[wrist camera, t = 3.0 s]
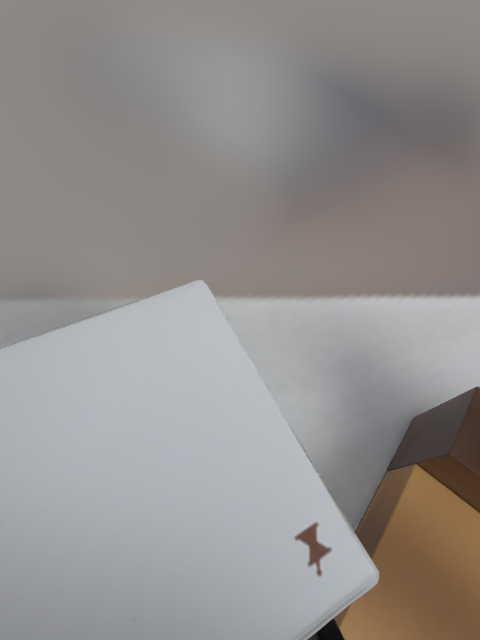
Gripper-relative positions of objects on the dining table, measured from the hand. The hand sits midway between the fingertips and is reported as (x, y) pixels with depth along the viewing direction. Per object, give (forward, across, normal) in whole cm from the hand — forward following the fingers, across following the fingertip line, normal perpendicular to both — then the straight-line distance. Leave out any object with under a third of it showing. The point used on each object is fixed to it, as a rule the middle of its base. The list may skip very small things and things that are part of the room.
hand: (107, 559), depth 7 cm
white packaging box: (+8, 0, +6) cm, 11 cm away
